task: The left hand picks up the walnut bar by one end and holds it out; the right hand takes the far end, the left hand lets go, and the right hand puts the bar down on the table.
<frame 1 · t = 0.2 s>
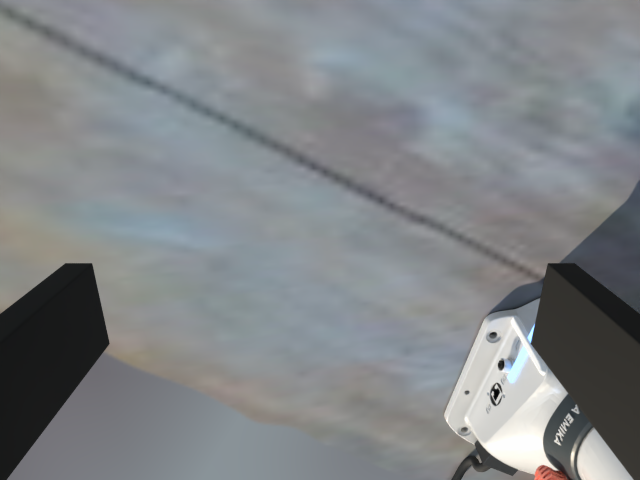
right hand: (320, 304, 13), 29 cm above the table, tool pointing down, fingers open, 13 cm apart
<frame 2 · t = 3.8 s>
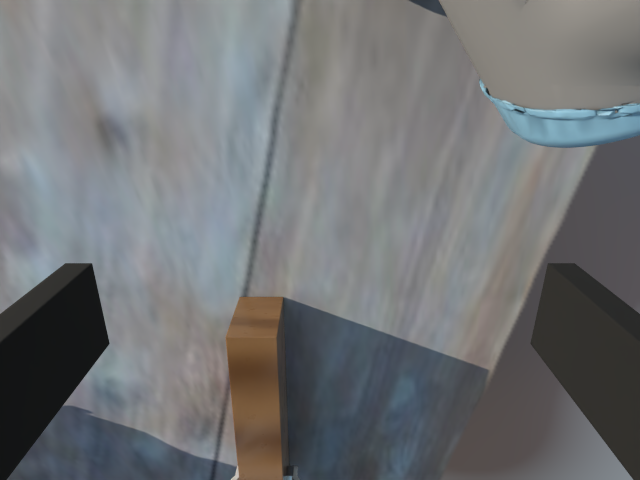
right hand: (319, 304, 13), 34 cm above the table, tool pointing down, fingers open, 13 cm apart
bar: (266, 391, 56), on the table, touching left hand
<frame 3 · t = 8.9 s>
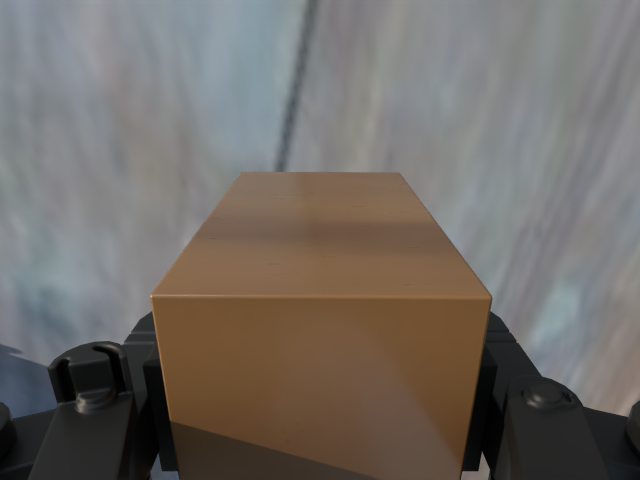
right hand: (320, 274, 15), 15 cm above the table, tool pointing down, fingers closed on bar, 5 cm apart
when the left hand's fingers open (17 cm above the table, at t = 9.7 s): bar stays where it is, held by the right hand.
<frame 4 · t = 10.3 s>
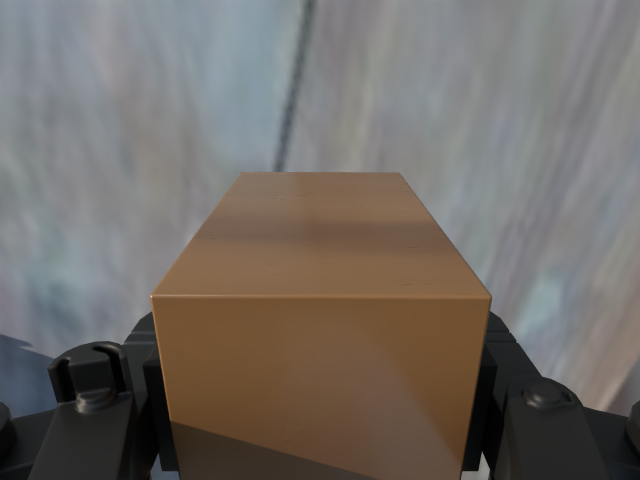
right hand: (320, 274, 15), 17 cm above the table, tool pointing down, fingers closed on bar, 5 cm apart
when the right hand's fingers open (2 cm above the table, at t = 17.4 s): bar stays where it is, on the table.
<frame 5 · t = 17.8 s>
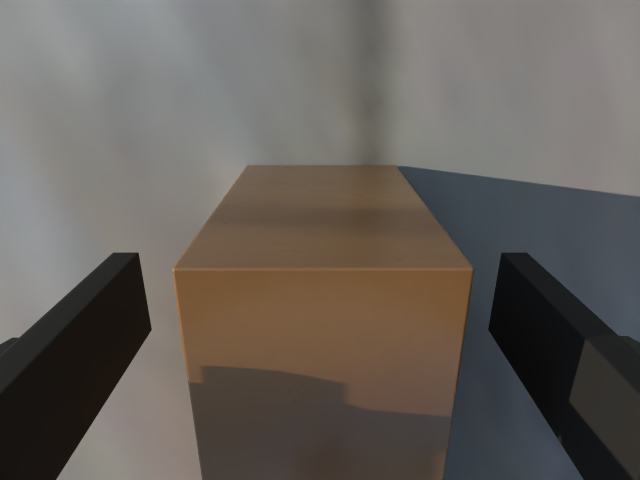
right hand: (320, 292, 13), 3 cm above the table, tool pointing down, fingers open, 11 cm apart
bar: (321, 463, 20), on the table
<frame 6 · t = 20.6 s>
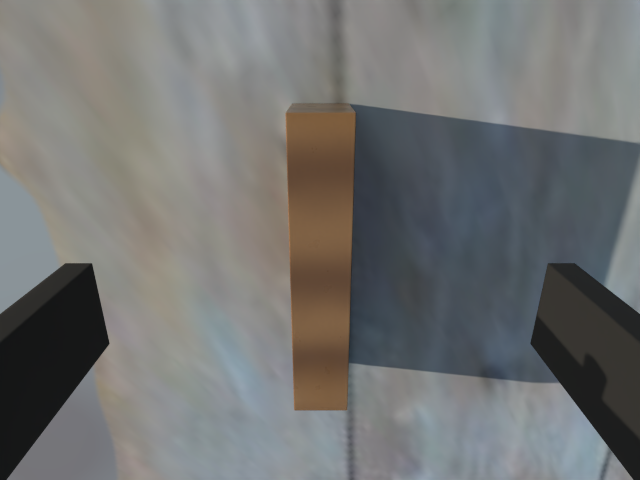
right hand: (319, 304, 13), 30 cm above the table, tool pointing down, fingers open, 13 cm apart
bar: (320, 245, 44), on the table
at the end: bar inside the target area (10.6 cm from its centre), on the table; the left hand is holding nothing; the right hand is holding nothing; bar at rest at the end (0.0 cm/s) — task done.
